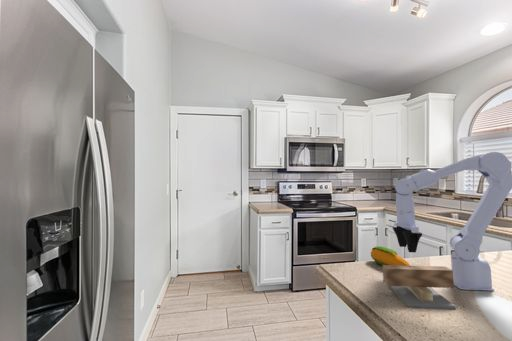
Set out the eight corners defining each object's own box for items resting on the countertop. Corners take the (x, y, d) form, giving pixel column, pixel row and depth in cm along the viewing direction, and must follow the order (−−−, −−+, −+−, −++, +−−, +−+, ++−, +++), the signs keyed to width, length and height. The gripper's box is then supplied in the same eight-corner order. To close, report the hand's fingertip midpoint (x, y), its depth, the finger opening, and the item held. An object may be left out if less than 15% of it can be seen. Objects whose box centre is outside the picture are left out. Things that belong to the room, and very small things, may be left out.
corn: (379, 241, 112) (417, 253, 92) (381, 259, 112) (419, 274, 92) (365, 244, 110) (400, 256, 91) (367, 261, 110) (402, 278, 91)
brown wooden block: (446, 283, 76) (445, 266, 76) (453, 288, 72) (452, 270, 72) (383, 281, 78) (382, 264, 79) (387, 285, 75) (386, 268, 75)
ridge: (416, 289, 80) (415, 278, 80) (433, 304, 70) (432, 291, 70) (405, 289, 80) (405, 278, 80) (421, 304, 70) (420, 291, 70)
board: (428, 287, 81) (427, 285, 81) (455, 309, 67) (455, 306, 67) (388, 286, 83) (388, 283, 83) (407, 306, 69) (407, 303, 69)
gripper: (386, 209, 99) (388, 244, 98) (401, 214, 85) (404, 254, 84) (405, 209, 98) (407, 244, 97) (424, 213, 84) (427, 255, 83)
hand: (407, 249), depth 91 cm, fingers open, 7 cm apart
